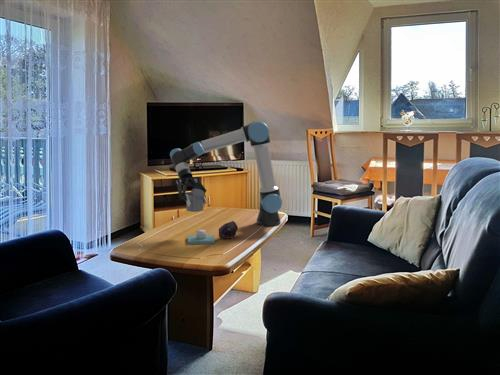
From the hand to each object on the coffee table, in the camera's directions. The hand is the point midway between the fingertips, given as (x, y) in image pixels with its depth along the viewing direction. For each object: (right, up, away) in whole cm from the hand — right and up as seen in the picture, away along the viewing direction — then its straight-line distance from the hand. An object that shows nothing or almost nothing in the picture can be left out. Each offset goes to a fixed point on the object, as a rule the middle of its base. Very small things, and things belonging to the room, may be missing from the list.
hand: (197, 204), depth 241 cm
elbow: (-2, -3, +3) cm, 5 cm away
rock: (+17, -19, +3) cm, 26 cm away
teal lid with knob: (+2, -20, -4) cm, 20 cm away
